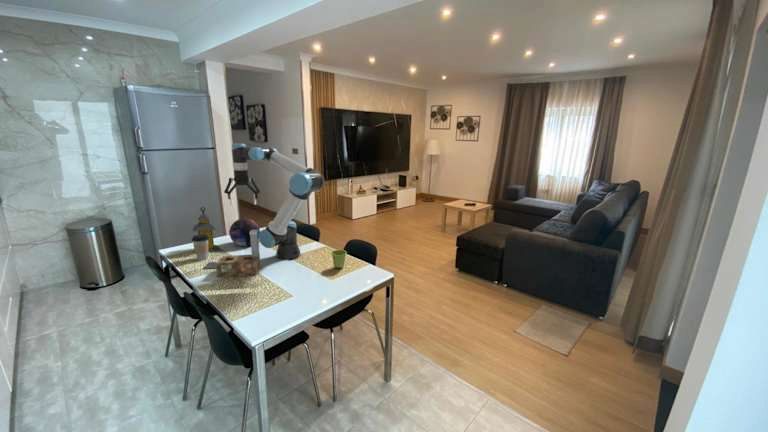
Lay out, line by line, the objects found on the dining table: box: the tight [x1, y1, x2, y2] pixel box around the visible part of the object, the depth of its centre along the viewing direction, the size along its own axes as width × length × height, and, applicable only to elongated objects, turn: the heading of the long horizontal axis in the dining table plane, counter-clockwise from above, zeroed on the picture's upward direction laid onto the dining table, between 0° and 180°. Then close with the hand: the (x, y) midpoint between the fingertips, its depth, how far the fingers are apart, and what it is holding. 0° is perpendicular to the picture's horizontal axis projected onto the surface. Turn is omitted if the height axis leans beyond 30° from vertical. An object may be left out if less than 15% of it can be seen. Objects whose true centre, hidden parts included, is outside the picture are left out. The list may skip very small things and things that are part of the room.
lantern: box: [192, 206, 220, 255], centre depth 204 cm, size 14×14×30 cm
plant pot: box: [330, 249, 348, 268], centre depth 184 cm, size 9×9×9 cm
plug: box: [250, 230, 261, 259], centre depth 171 cm, size 4×4×16 cm
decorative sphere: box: [228, 217, 261, 247], centre depth 216 cm, size 19×20×20 cm
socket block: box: [215, 254, 262, 278], centre depth 172 cm, size 20×12×8 cm, turn 101°
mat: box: [202, 261, 218, 270], centre depth 181 cm, size 10×10×1 cm
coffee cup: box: [191, 234, 209, 262], centre depth 190 cm, size 9×9×15 cm
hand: (243, 204), depth 188 cm, fingers open, 13 cm apart
